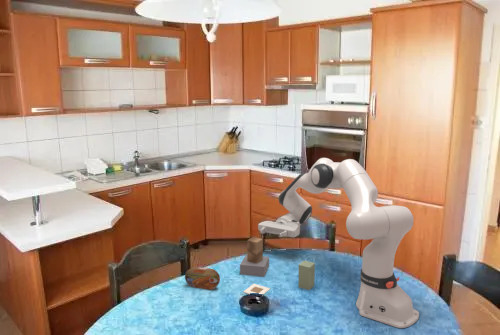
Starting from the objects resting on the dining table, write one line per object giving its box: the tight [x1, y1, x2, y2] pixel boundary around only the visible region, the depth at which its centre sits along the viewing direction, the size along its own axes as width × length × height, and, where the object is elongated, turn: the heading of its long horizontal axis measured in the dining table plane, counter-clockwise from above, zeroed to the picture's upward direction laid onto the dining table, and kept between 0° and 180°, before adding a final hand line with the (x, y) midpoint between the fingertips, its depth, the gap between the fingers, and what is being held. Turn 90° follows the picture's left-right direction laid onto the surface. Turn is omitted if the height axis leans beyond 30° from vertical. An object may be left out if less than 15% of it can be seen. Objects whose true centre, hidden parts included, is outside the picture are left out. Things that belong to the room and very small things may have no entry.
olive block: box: [297, 260, 316, 291], centre depth 173 cm, size 5×5×10 cm
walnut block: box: [246, 236, 264, 264], centre depth 188 cm, size 5×5×10 cm
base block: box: [239, 254, 270, 278], centre depth 189 cm, size 11×11×5 cm
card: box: [243, 283, 271, 295], centre depth 171 cm, size 8×8×1 cm
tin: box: [184, 266, 221, 291], centre depth 174 cm, size 15×3×8 cm, turn 73°
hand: (270, 233), depth 196 cm, fingers open, 8 cm apart
